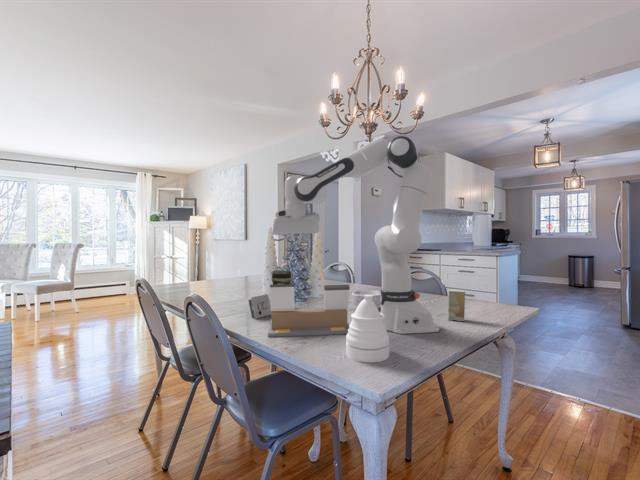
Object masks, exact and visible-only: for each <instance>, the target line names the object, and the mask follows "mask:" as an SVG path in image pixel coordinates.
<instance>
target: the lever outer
mask: <svg viewBox="0 0 640 480" xmlns="http://www.w3.org/2000/svg"><path fill="white" fill-rule="evenodd" d="M269 289H270V290H269V291H270V293H269V294H270V295H269V296H270V297H269V302H270V310H271V311H272V310H295V309H296V308H295V307H296V305H295V283H291V284H275V285H273V284H269Z"/></svg>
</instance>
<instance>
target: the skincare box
mask: <svg viewBox="0 0 640 480" xmlns="http://www.w3.org/2000/svg"><path fill="white" fill-rule="evenodd" d="M465 298H466V290H463V289H450V288H448V309H447V319H448V321H453V320H457V321H456V322H462V321H464V322H465V308H466V307H465V306H466V305H465V304H466V303H465V302H466V299H465Z"/></svg>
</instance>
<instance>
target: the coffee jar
mask: <svg viewBox="0 0 640 480" xmlns="http://www.w3.org/2000/svg"><path fill="white" fill-rule="evenodd" d="M292 277H293V276H292V272H291V270H287V269H282V270H281V269H278V270H277V269H276V270H275V269H274V270H273V271H272V272H271V281H272V285H275V284H292V280H293V278H292Z"/></svg>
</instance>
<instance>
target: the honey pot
mask: <svg viewBox="0 0 640 480" xmlns="http://www.w3.org/2000/svg"><path fill="white" fill-rule="evenodd" d="M364 298H365V299H364V300H362V301H361V302H360V304H359V305H358V307H357V308H355V311H354V312H353V313H351V315H350V316H351V317H350V318H352V319H351V322H350V323H349V329H348V333H347V334H345V335H346V336H345V355H346V357H347V358H349V359H351V360H353V361H356V362H361V363H378V362H379V363H380V362H383V361H385V360H388V359H389V358H390V336H389V335H388V330H386V329H385V328H386V326H385V325H384V323H383V319H385V315H384V314H382V313H380V312H381V311H380V310H379V309H378V308H377V307H376V305H375V304H374V302H373V301H372V299H373V295H364Z"/></svg>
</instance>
